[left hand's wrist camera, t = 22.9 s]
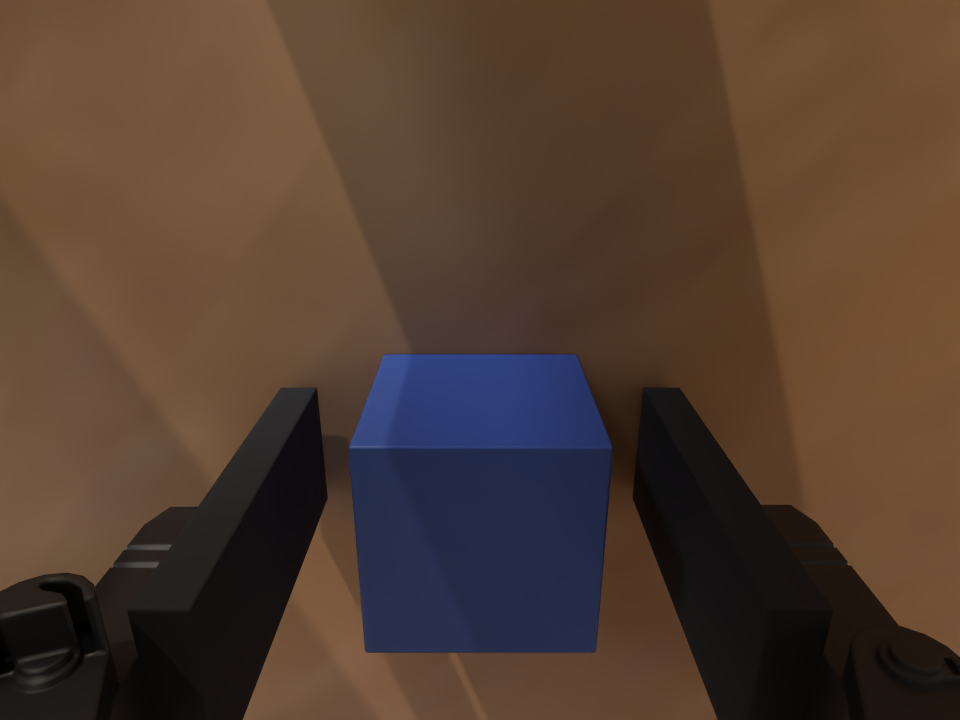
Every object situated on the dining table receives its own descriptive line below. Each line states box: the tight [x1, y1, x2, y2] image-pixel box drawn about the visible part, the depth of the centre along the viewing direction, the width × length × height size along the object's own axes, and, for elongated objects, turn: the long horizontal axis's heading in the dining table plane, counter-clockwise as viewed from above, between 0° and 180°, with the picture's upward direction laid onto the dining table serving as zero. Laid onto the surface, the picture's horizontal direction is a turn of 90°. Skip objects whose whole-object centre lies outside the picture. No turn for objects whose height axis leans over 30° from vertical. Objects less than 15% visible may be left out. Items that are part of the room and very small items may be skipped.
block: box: [349, 354, 613, 653], centre depth 13 cm, size 4×4×4 cm
